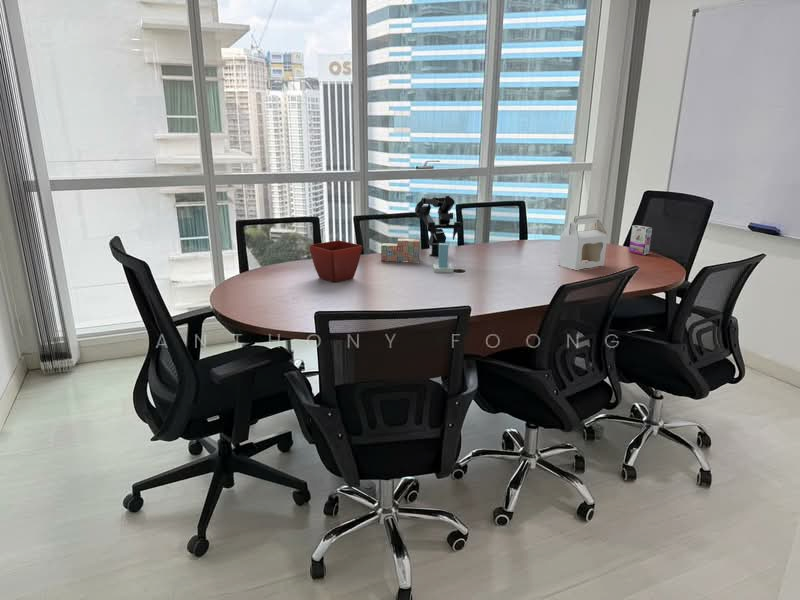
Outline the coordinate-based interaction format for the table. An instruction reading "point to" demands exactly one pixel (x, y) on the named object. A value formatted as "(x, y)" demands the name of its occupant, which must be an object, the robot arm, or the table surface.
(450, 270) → the base tile
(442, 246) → the teal pillar
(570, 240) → the gable box
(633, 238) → the candy bar box
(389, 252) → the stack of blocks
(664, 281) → the table surface
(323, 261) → the plant pot
